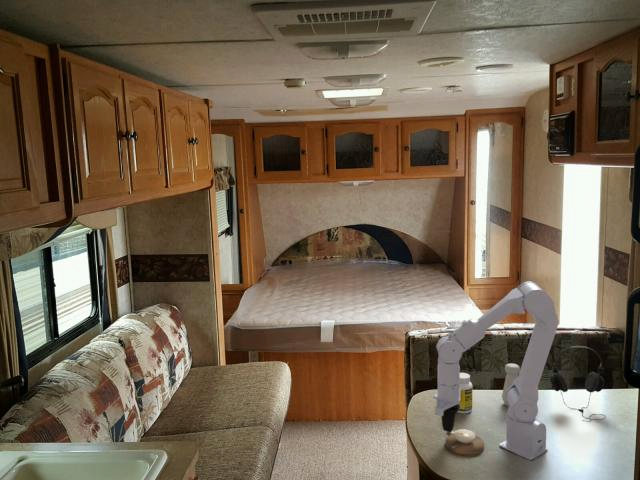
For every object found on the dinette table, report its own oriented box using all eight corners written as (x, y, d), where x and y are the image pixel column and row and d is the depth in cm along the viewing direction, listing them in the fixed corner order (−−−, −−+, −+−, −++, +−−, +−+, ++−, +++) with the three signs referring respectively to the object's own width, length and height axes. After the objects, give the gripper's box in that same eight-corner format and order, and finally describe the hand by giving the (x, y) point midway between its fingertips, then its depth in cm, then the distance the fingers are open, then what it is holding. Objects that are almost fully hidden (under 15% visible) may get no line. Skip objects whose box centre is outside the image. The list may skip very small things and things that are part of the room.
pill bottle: (467, 416, 163) (467, 381, 161) (448, 411, 167) (448, 376, 165) (475, 408, 168) (475, 374, 166) (456, 403, 171) (456, 369, 170)
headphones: (558, 421, 158) (560, 355, 155) (546, 403, 169) (548, 342, 166) (613, 422, 156) (616, 355, 153) (597, 404, 167) (600, 342, 164)
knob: (477, 434, 147) (477, 419, 147) (473, 444, 142) (473, 428, 142) (448, 429, 150) (448, 414, 150) (443, 438, 146) (443, 423, 145)
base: (491, 446, 145) (491, 439, 145) (467, 460, 139) (468, 452, 139) (461, 432, 153) (461, 425, 153) (437, 444, 147) (437, 437, 147)
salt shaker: (500, 400, 172) (500, 361, 170) (519, 400, 171) (519, 361, 170) (504, 408, 167) (504, 368, 165) (523, 409, 166) (524, 368, 164)
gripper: (443, 370, 153) (443, 415, 155) (423, 389, 141) (424, 438, 143) (468, 374, 149) (467, 421, 151) (450, 394, 137) (450, 445, 139)
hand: (448, 430), depth 146 cm, fingers closed, pressing on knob
